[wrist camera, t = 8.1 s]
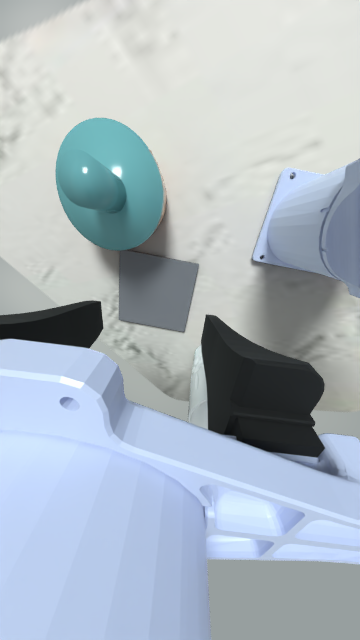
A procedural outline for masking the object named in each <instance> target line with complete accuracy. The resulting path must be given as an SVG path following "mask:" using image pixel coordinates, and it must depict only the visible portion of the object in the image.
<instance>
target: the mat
mask: <svg viewBox="0 0 360 640" xmlns="http://www.w3.org/2000/svg"><path fill="white" fill-rule="evenodd" d="M198 266H199V264H196V263H191V262H186V261H181V260H176V259H170V258H165V257H160V256H155V255H150V254H145V253H139V252H134V251H129V250H120V274H119V320H123V321H128V322H134V323H139V324H144V325H150V326H155V327H160V328H166V329H171V330H176V331H182V332H184V331H185V326H186V321H187V317H188V312H189V308H190V303H191V298H192V294H193V289H194V284H195V280H196V275H197V271H198Z"/></svg>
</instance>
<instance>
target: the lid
mask: <svg viewBox="0 0 360 640" xmlns="http://www.w3.org/2000/svg"><path fill="white" fill-rule="evenodd" d="M56 184H57V190H58V194H59V198H60V201H61V204H62V206H63V208H64V211H65V213H66V214H67V216H68V218H69V220H70V221H71V223H72V224H73V225H74V227H75V228H76V229H77V230H78V231H79V232H80V233H81V234H82V235H83V236H84V237H85V238H86V239H88V240H89V241H91V242H92V243H94V244H95V245H98V246H100V247H102V248H105V249H109V250H119V251H120V250H127V249H131V248H134V247H137V246H139V245H141V244H142V243H144V242H145V241H146V240H147V239H149V237H150V236H151V235H152V234H153V232H154V231H155V229H156V228H157V226H158V224H159V221H160V218H161V215H162V211H163V204H164V190H163V183H162V178H161V174H160V171H159V168H158V166H157V164H156V161H155V159H154V157H153V155H152V154H151V152H150V150H149V149H148V147H147V146H146V144H145V143H144V142H143V140H142V139H141V138H140V137H139V136H138V135H137V134H136V133H135V132H134V131H132V130H131V129H130V128H129V127H127V126H125V125H124V124H122V123H120V122H117V121H115V120H112V119H107V118H93V119H88V120H86V121H83V122H81V123H80V124H78V125H76V126H75V127H74V128H73V129H72V130H71V131H70V132H69V133H68V134H67V136H66V137H65V139H64V141H63V142H62V144H61V147H60V150H59V152H58V157H57V161H56Z"/></svg>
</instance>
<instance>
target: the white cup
mask: <svg viewBox="0 0 360 640" xmlns="http://www.w3.org/2000/svg"><path fill="white" fill-rule="evenodd" d="M188 422H189V423H191V424H194V425H197V426H200V427H202V428H205V429H208V408H207V385H206V376H205V370H204V364H203V358H202V352H201V345H200V346H199V347H198V348H197V349H196V351H195V355H194V359H193V367H192V376H191V385H190V399H189V412H188Z"/></svg>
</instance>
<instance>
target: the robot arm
mask: <svg viewBox="0 0 360 640" xmlns="http://www.w3.org/2000/svg"><path fill="white" fill-rule="evenodd" d="M291 173H292V174H293V175H294V178H293V179H292V180H291V179H290V174H291ZM261 255H264V258H263V259H260V256H261ZM252 259H253V260H254V261H257V262H263V263H268V264H273V265H278V266H283V267H288V268H293V269H298V270H304V271H309V272H314V273H319V274H322V275H325V276H328V277H331V278H334V279H337V280H340V281H343V282H344V283H345V284H346V285H347V286H348V289H349V294H350V295H353V296H355V297H358V298H360V159H358V160H356V161H354V162H352V163H350V164H348V165H345V166H343V167H341V168H339V169H336V170H334V171H332V172H330V173H327V174H325V175H323V174H318V173H313V172H308V171H303V170H298V169H293V168H286V169H284V170H283V171H282V172H281V174H280V177H279V180H278V183H277V185H276V188H275V191H274V194H273V197H272V200H271V203H270V206H269V209H268V212H267V214H266V217H265V220H264V223H263V226H262V229H261V232H260V235H259V238H258V241H257V243H256V246H255V249H254V252H253V255H252ZM102 329H103V320H102V310H101V302H100V301H83V302H79V303H74V304H70V305H66V306H61V307H57V308H52V309H47V310H42V311H36V312H29V313H22V314H11V315H0V640H211V630H210V610H209V590H208V573H207V572H208V571H207V559H232V560H234V559H235V560H295V561H296V560H297V561H324V562H338V563H339V562H340V563H351V564H360V441H359V440H358V439H357V438H356V437H354V436H346V435H339V434H331V433H325V434H320V435H318V436H317V434H316V432H315V431H314V429H313V428H312V426H314V425H315V421H314V420H313V418H312V417H311V415H310V413H311V412H312V410H313V409H314V407H315V406H316V404H317V403H318V401H319V400H320V398H321V396H322V394H323V392H324V382H323V379H322V377H321V376H320V375H319V374H318V373H317V372H316V371H315V369H314V368H313V367H312V366H311V365H310V364H309V363H307V362H304V361H300V360H297V359H293V358H290V357H286V356H284V355H281V354H278V353H275V352H273V351H270V350H268V349H265V348H263V347H261V346H259V345H257V344H255V343H253V342H251V341H249V340H248V339H246V338H244V337H243V336H241V335H239V334H238V333H237V332H235V331H234V330H233V329H231V328H230V327H229V326H228V325H226V324H225V323H224V322H223V321H222V320H220V319H219V318H218V317H217V316H214V315H206V318H205V323H204V329H203V334H202V339H201V352H202V358H203V364H204V370H205V376H206V385H207V408H208V429H205V428H202V427H200V426H197V425H194V424H191V423H189V422H186V421H183V420H181V419H178V418H175V417H173V416H170V415H167V414H165V413H162V412H159V411H156V410H154V409H151V408H148V407H146V406H143V405H140V404H138V403H134V402H132V401H129V400H128V399H126V398H125V394H124V385H123V377H122V374H121V371H120V369H119V366H118V365H117V364H116V363H115V362H114V361H112V360H111V359H110V358H109V357H108V356H106V354H104V353H100V352H98V351H95V350H92V349H89V348H90V347H91V345H92V344H93V343H94V342H95V341H96V339H97V338H98V336H99V335H100V333H101V331H102Z"/></svg>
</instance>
